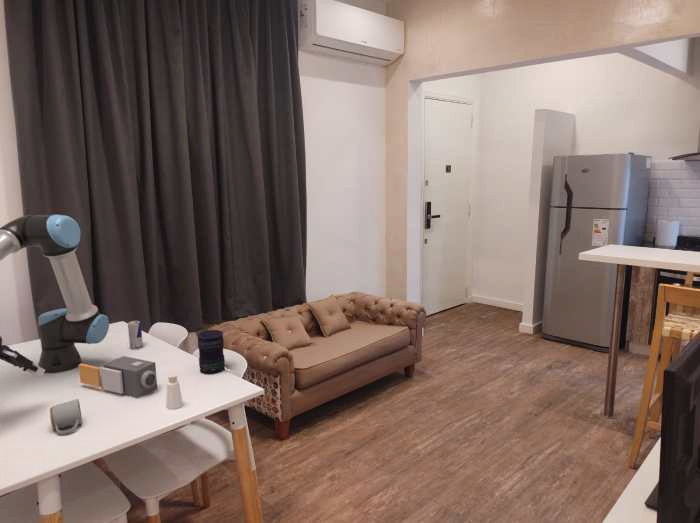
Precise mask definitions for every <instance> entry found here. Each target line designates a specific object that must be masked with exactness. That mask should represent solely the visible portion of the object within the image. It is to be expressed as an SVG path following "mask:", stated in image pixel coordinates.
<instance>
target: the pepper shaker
mask: <svg viewBox="0 0 700 523" xmlns="http://www.w3.org/2000/svg"><path fill="white" fill-rule="evenodd" d="M167 377H168V382H167V384H166V403H165V404H166V405H165V406H166V408H167V409H168V410H176V408H177V409H180V408H182V406H183V405H184V403H183V397H182V391H181V387H180V382H179V381H178V376H177V373H176V374H175V373H172V374H168V376H167Z"/></svg>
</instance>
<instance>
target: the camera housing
mask: <svg viewBox="0 0 700 523" xmlns="http://www.w3.org/2000/svg"><path fill="white" fill-rule="evenodd" d="M103 367H104V368H109V369H113V370H118V371H122V381H123V392H124V393H122V394H123V396H126V395H127V397H130V396H131V398H134V397H135V399H139V397H140V398H142V397H143V396H145V395H148V394H149V393H151V392H152V391H155V390H156V389H158V382H157V381H158V379H157V370H156V367H157V366H156V362H154V361H149V360H144V359H140V358H135V357H131V356H125V355H123V356H120V357H117V358H115V359H113V360H110V361H108V362H105V363H103V364H102V368H103ZM122 394H120V393H119V395H122ZM141 396H142V397H141Z"/></svg>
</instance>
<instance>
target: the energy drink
mask: <svg viewBox="0 0 700 523" xmlns="http://www.w3.org/2000/svg"><path fill="white" fill-rule="evenodd" d="M127 329H128V340H129V341H128V342H129V349H130V350H132V349H137V350H141V349H143V347H144V344H143V343H144V341H143V331H142V330H143V329H142V323H141V321H140V320H131V321H128V323H127ZM140 348H141V349H140Z"/></svg>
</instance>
